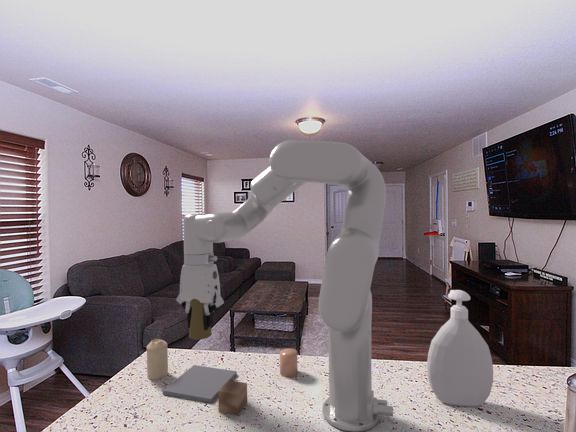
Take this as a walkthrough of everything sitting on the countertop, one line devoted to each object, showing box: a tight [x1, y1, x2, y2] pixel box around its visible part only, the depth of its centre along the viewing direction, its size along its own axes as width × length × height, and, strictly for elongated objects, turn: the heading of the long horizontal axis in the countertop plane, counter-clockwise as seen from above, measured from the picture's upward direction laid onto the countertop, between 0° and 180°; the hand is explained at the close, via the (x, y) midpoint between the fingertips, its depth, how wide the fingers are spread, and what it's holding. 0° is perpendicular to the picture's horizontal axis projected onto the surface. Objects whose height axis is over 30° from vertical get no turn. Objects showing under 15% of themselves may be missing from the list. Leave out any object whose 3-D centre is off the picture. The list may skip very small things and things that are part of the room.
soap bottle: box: [426, 289, 494, 408], centre depth 79 cm, size 14×8×27 cm, turn 79°
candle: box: [146, 338, 169, 380], centre depth 93 cm, size 6×6×10 cm
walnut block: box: [217, 380, 248, 416], centre depth 78 cm, size 5×5×5 cm
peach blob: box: [279, 347, 299, 378], centre depth 93 cm, size 5×5×6 cm
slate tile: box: [162, 364, 238, 404], centre depth 88 cm, size 14×14×1 cm
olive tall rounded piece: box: [188, 299, 213, 341], centre depth 88 cm, size 6×6×11 cm
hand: (200, 326), depth 88 cm, fingers closed on olive tall rounded piece, 4 cm apart
